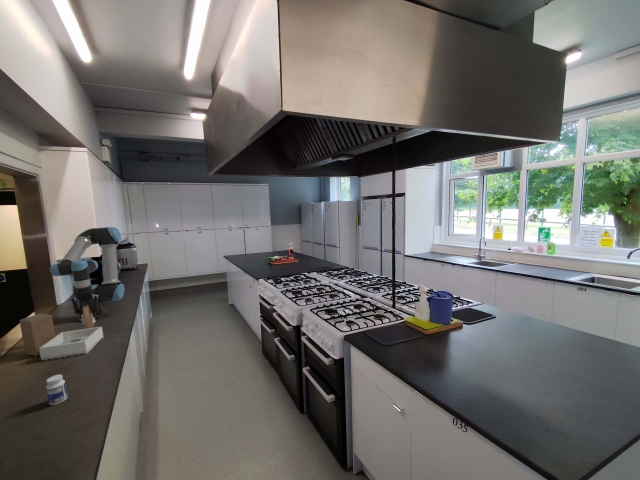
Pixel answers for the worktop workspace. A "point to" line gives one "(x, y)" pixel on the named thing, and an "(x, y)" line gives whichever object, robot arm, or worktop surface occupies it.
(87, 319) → the peg
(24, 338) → the wooden block
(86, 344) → the tub
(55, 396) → the pill bottle
